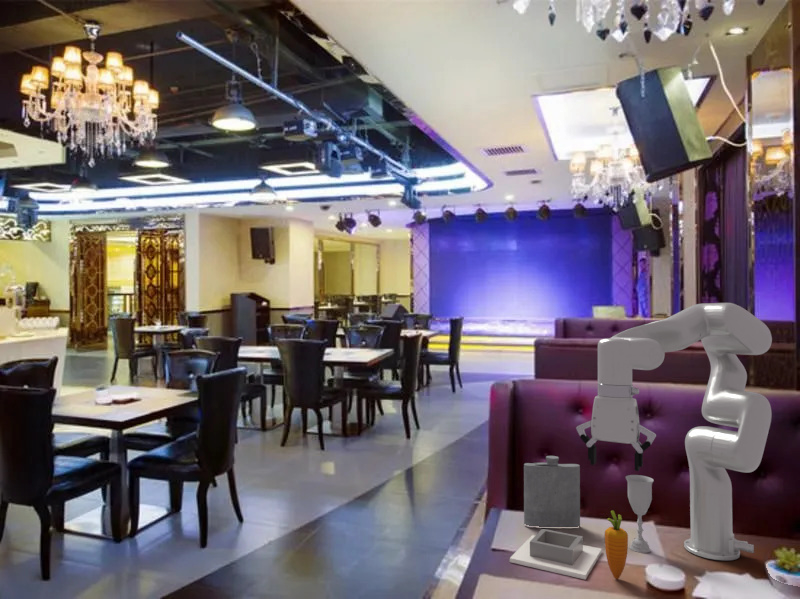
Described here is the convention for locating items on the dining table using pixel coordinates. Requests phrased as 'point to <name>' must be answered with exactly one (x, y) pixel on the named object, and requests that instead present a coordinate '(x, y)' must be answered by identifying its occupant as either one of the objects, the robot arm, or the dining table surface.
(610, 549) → the carrot
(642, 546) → the chalice
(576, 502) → the hip flask
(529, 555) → the stand
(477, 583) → the dining table surface
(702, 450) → the robot arm
